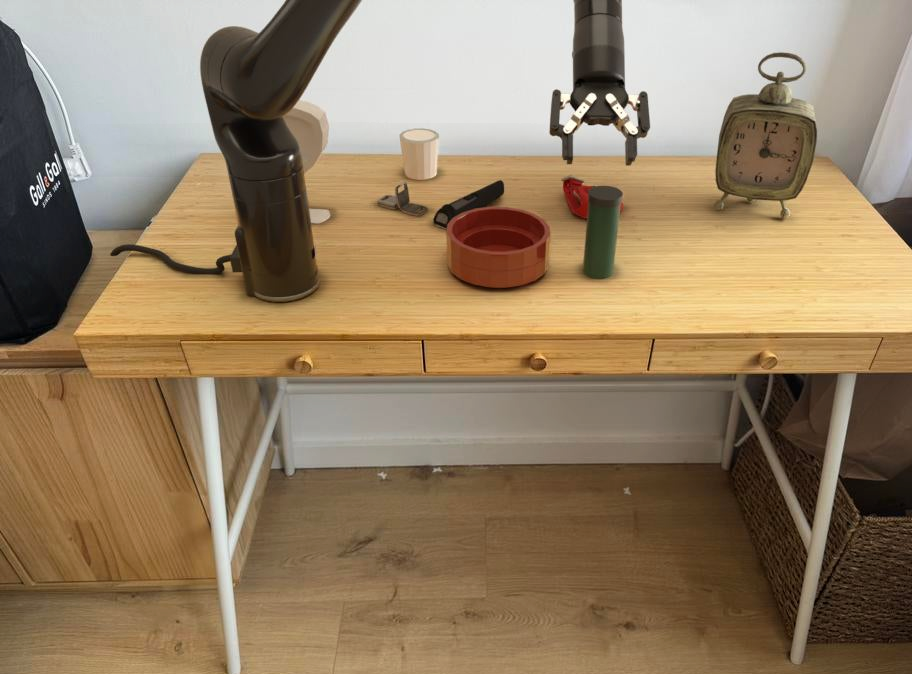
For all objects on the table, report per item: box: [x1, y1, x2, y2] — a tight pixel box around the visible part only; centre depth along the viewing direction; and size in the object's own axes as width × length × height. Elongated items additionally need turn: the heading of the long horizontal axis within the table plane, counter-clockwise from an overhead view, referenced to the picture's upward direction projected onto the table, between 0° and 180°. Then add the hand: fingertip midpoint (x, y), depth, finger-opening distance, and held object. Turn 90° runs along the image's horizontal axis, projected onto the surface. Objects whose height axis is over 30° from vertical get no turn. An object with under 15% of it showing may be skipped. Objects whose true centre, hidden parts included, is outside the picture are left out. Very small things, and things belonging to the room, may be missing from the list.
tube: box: [582, 185, 624, 280], centre depth 114 cm, size 5×5×12 cm
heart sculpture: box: [283, 99, 331, 225], centre depth 125 cm, size 16×5×18 cm, turn 85°
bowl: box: [445, 206, 551, 289], centre depth 117 cm, size 15×15×6 cm
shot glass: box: [399, 127, 440, 181], centre depth 142 cm, size 7×7×7 cm
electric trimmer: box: [432, 179, 505, 231], centre depth 132 cm, size 4×16×3 cm, turn 142°
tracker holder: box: [560, 175, 624, 219], centre depth 134 cm, size 12×4×10 cm
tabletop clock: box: [713, 51, 818, 219], centre depth 129 cm, size 14×9×25 cm, turn 76°
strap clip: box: [376, 181, 429, 217], centre depth 132 cm, size 8×3×4 cm, turn 62°
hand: (599, 163), depth 116 cm, fingers open, 8 cm apart
